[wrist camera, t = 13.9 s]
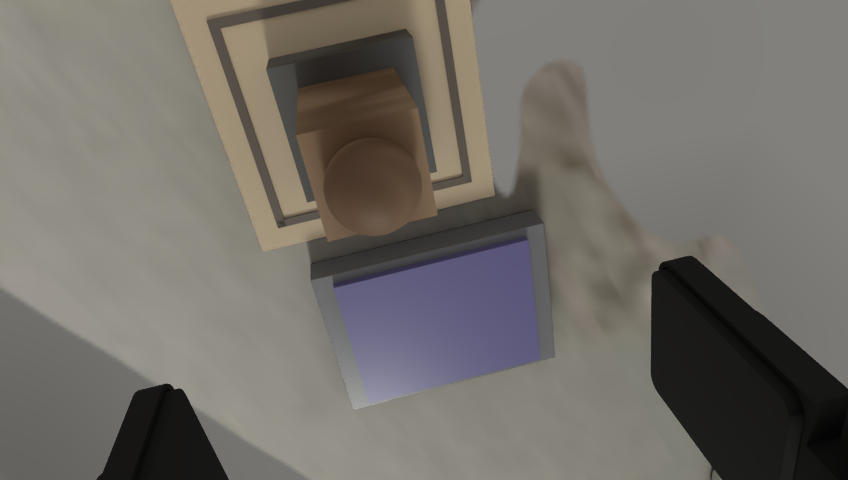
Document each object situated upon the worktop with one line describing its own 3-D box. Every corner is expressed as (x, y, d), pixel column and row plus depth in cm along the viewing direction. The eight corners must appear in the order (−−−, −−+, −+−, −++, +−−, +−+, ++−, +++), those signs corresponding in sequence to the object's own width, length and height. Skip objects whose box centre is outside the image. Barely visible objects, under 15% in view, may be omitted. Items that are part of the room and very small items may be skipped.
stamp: (405, 28, 26) (459, 89, 17) (429, 156, 29) (485, 266, 20) (268, 58, 25) (248, 137, 16) (307, 185, 28) (307, 310, 19)
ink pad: (533, 209, 31) (546, 226, 30) (545, 339, 36) (557, 361, 34) (310, 264, 31) (310, 284, 29) (351, 390, 35) (353, 414, 33)
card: (459, -65, 25) (461, -64, 24) (493, 193, 31) (495, 196, 30) (170, -4, 24) (168, -3, 23) (263, 248, 30) (262, 252, 29)
